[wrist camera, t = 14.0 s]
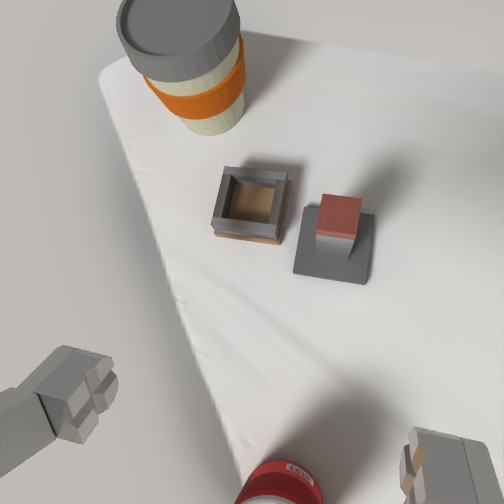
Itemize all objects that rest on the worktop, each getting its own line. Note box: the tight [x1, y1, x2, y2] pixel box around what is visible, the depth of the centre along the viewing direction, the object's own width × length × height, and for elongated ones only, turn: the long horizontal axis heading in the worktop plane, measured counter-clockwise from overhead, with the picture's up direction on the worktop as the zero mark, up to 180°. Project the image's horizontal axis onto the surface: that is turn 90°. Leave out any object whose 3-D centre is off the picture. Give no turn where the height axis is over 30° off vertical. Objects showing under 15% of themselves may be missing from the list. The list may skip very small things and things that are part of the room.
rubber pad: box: [293, 207, 374, 285], centre depth 41 cm, size 8×8×1 cm
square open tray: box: [211, 166, 291, 245], centre depth 43 cm, size 8×8×4 cm
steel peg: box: [316, 194, 362, 260], centre depth 37 cm, size 4×4×9 cm
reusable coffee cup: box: [116, 0, 245, 136], centre depth 43 cm, size 13×12×15 cm
